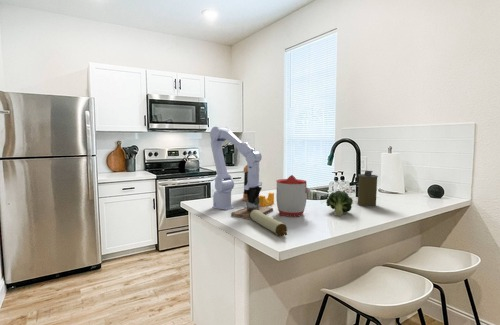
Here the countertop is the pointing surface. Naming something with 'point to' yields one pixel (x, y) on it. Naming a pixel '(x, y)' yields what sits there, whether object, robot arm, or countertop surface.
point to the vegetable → (339, 202)
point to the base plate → (245, 214)
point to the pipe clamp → (266, 200)
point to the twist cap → (253, 204)
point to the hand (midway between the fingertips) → (253, 201)
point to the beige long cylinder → (268, 222)
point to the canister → (367, 189)
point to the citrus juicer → (291, 196)
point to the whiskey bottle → (245, 181)
